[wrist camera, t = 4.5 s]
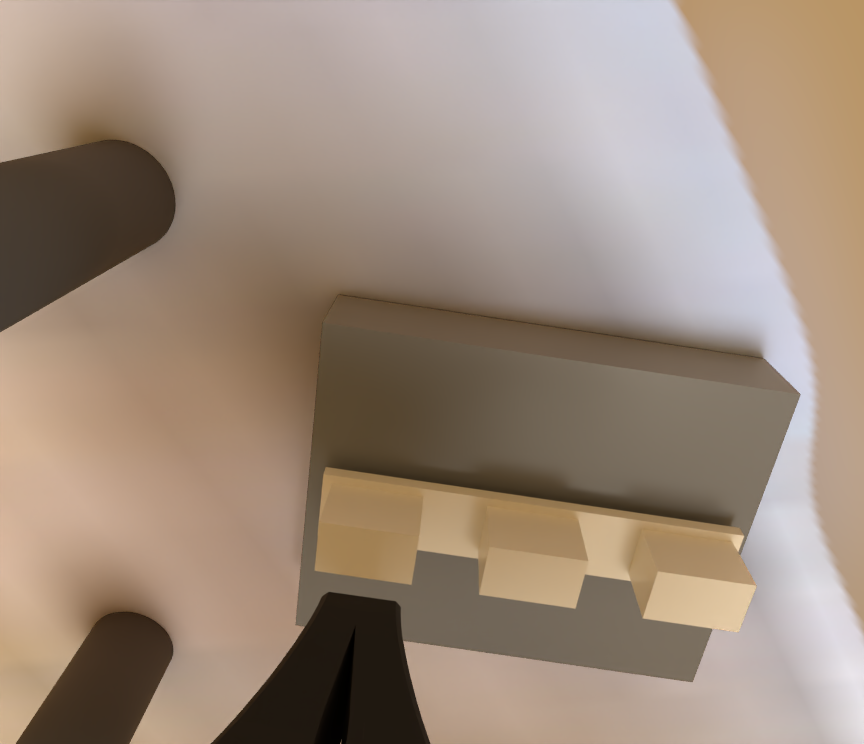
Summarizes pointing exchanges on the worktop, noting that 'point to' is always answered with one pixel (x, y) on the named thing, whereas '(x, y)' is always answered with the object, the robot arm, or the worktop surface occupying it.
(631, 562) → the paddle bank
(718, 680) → the worktop surface
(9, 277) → the post
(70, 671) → the post
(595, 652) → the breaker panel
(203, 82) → the worktop surface
